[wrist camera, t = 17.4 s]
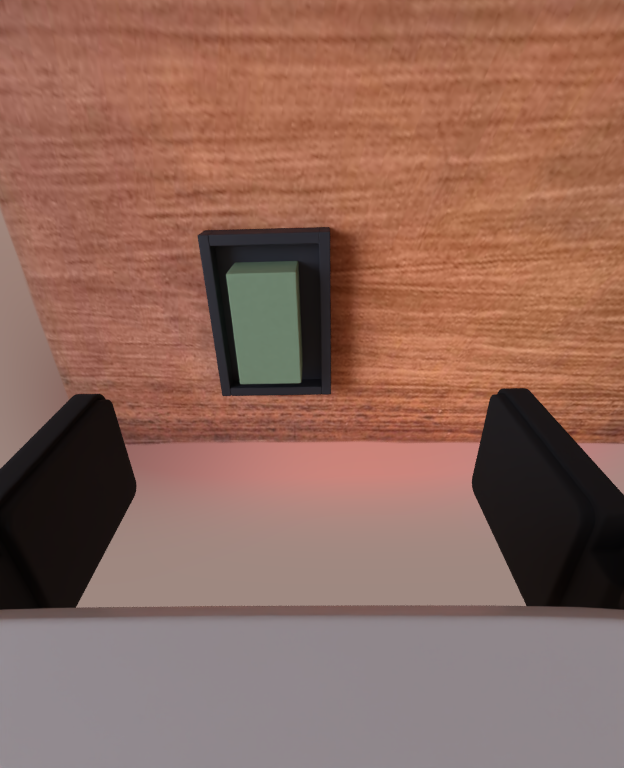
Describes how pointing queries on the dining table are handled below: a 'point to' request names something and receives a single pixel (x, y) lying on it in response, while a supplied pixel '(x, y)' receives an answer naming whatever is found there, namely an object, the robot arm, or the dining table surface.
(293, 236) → the black tray
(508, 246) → the dining table surface
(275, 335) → the green rectangular block
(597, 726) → the robot arm
